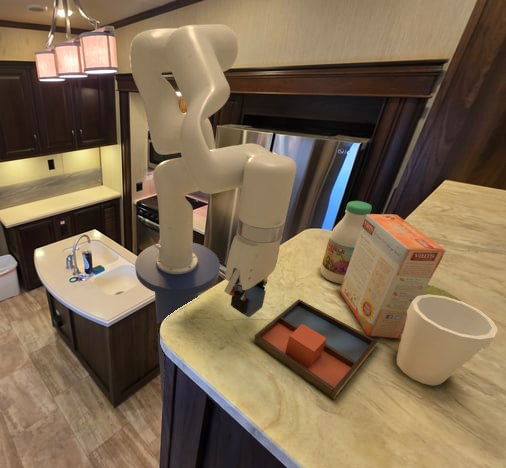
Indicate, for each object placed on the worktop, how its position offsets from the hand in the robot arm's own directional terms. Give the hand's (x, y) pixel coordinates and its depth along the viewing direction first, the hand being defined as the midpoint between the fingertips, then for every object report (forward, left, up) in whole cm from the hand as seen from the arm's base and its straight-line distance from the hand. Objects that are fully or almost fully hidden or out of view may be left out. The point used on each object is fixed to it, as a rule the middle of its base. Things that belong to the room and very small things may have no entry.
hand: (246, 303), depth 59 cm
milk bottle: (+5, +32, -6) cm, 33 cm away
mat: (+22, +35, -6) cm, 42 cm away
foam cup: (+26, +15, -6) cm, 30 cm away
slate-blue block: (0, 0, -1) cm, 1 cm away
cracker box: (+15, +23, -6) cm, 28 cm away
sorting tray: (+12, +6, -6) cm, 14 cm away
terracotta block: (+12, +2, -5) cm, 13 cm away
